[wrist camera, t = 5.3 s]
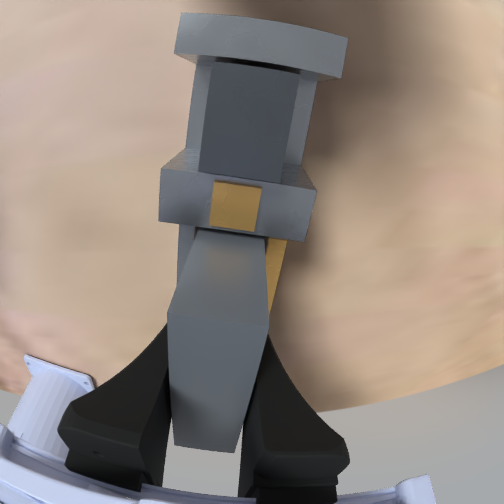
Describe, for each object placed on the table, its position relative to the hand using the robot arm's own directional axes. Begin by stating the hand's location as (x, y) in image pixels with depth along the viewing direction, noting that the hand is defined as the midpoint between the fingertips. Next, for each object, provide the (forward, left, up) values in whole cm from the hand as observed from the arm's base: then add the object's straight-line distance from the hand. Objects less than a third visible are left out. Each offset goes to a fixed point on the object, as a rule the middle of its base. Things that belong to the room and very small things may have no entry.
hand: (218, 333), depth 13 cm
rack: (+3, 0, -5) cm, 6 cm away
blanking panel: (+1, 0, -3) cm, 3 cm away
